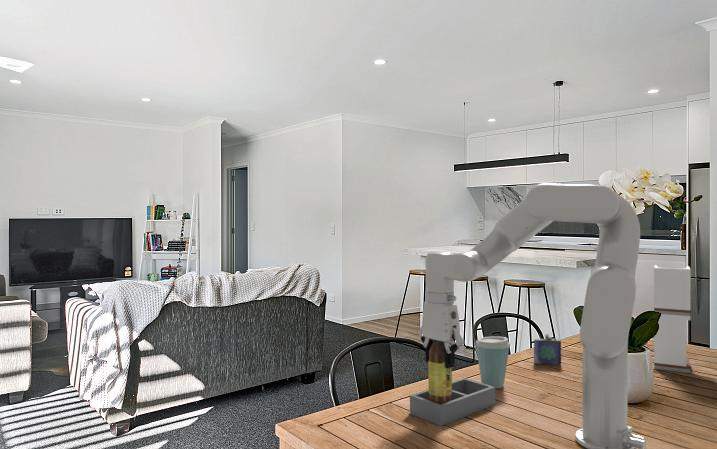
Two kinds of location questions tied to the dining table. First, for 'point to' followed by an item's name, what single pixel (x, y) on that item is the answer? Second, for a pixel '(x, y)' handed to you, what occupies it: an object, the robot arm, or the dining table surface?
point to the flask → (547, 351)
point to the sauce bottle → (439, 374)
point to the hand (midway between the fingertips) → (439, 363)
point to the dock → (453, 402)
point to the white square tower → (672, 317)
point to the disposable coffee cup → (493, 359)
